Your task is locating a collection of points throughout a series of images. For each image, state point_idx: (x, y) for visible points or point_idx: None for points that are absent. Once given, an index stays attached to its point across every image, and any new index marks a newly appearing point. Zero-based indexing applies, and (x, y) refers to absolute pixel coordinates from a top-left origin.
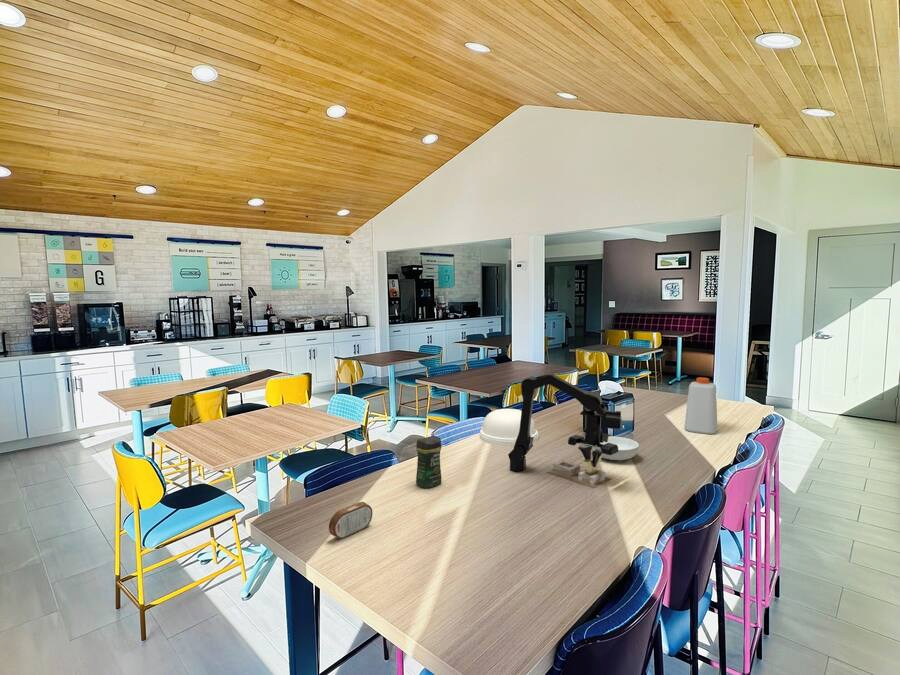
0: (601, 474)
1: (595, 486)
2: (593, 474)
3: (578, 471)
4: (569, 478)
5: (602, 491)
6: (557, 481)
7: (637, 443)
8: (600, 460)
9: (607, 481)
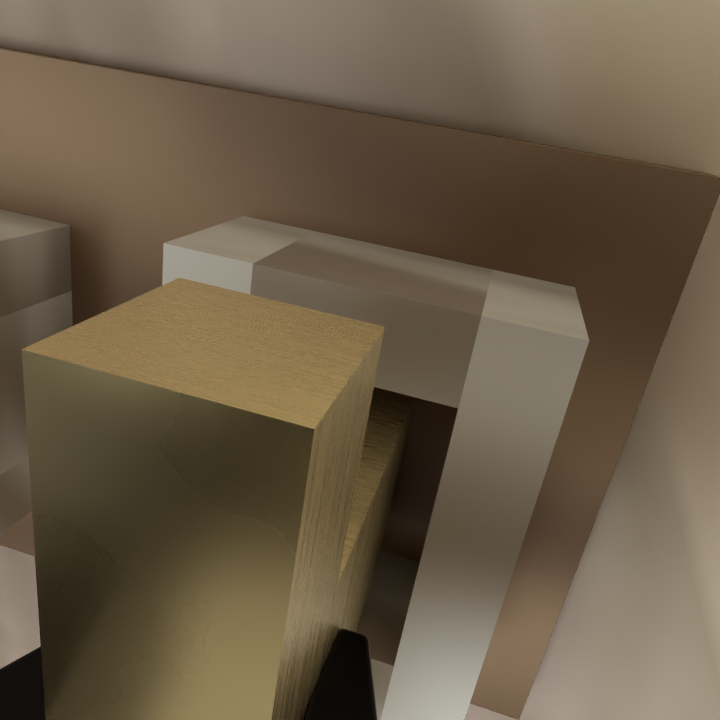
0: (534, 496)
1: (512, 658)
2: (378, 544)
3: (43, 286)
4: None
5: (633, 662)
6: (34, 580)
7: None
8: (363, 408)
9: (648, 368)
